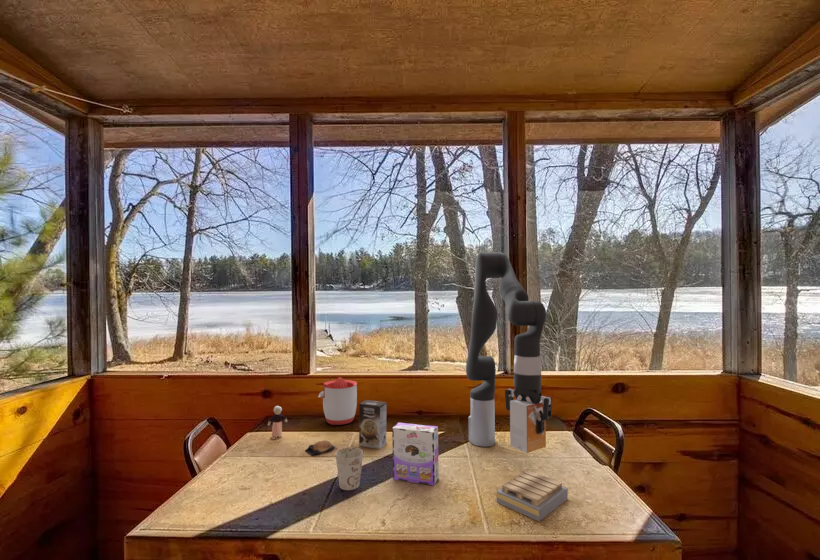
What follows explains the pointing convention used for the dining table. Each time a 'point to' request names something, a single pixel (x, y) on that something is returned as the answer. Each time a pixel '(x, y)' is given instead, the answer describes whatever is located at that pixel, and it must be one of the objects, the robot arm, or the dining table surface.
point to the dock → (526, 506)
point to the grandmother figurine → (277, 422)
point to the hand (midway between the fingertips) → (528, 429)
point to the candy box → (415, 453)
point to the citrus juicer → (339, 401)
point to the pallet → (532, 487)
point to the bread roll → (320, 448)
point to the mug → (349, 467)
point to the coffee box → (372, 424)
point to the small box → (525, 427)
